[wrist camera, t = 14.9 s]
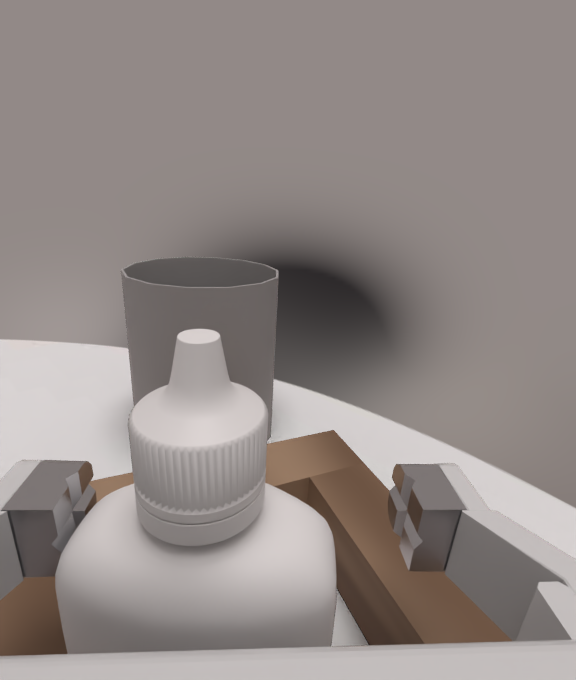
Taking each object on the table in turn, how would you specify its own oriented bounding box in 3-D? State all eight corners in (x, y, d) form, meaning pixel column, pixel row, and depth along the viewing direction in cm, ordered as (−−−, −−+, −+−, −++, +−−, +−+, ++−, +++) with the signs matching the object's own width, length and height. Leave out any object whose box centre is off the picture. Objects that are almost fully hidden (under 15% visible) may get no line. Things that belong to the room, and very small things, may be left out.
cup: (172, 490, 20) (160, 296, 16) (116, 417, 25) (99, 262, 22) (298, 433, 25) (310, 277, 21) (228, 383, 31) (228, 254, 27)
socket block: (-236, 1742, 4) (-415, 1887, 3) (20, 558, 16) (6, 499, 15) (615, 859, 9) (666, 792, 8) (328, 477, 21) (333, 429, 20)
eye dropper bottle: (192, 619, 14) (178, 285, 10) (335, 734, 11) (405, 340, 7) (71, 758, 10) (-34, 330, 6) (237, 974, 8) (255, 477, 3)
